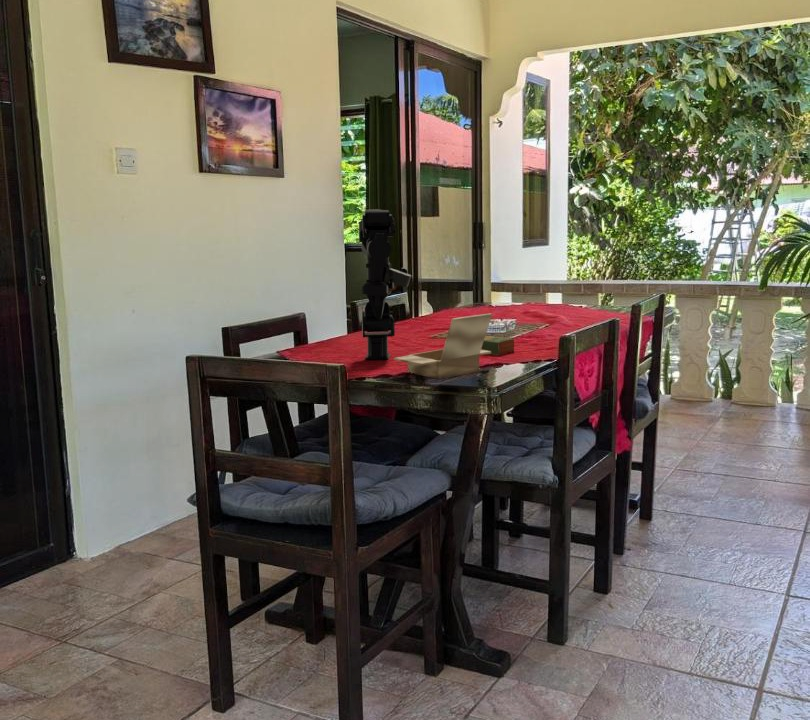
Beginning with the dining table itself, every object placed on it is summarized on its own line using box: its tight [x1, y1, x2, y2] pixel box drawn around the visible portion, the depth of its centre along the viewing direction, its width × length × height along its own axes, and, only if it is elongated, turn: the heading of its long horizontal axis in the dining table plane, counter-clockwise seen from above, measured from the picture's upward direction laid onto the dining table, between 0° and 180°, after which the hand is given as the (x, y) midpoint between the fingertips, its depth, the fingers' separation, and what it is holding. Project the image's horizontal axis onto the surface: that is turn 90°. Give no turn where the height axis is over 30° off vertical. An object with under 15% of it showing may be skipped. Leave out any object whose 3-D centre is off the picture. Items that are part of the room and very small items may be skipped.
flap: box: [440, 312, 493, 361], centre depth 208 cm, size 12×13×1 cm
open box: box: [393, 348, 491, 380], centre depth 216 cm, size 12×24×4 cm, turn 130°
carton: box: [481, 335, 515, 356], centre depth 246 cm, size 8×16×4 cm, turn 49°
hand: (379, 319), depth 221 cm, fingers closed
